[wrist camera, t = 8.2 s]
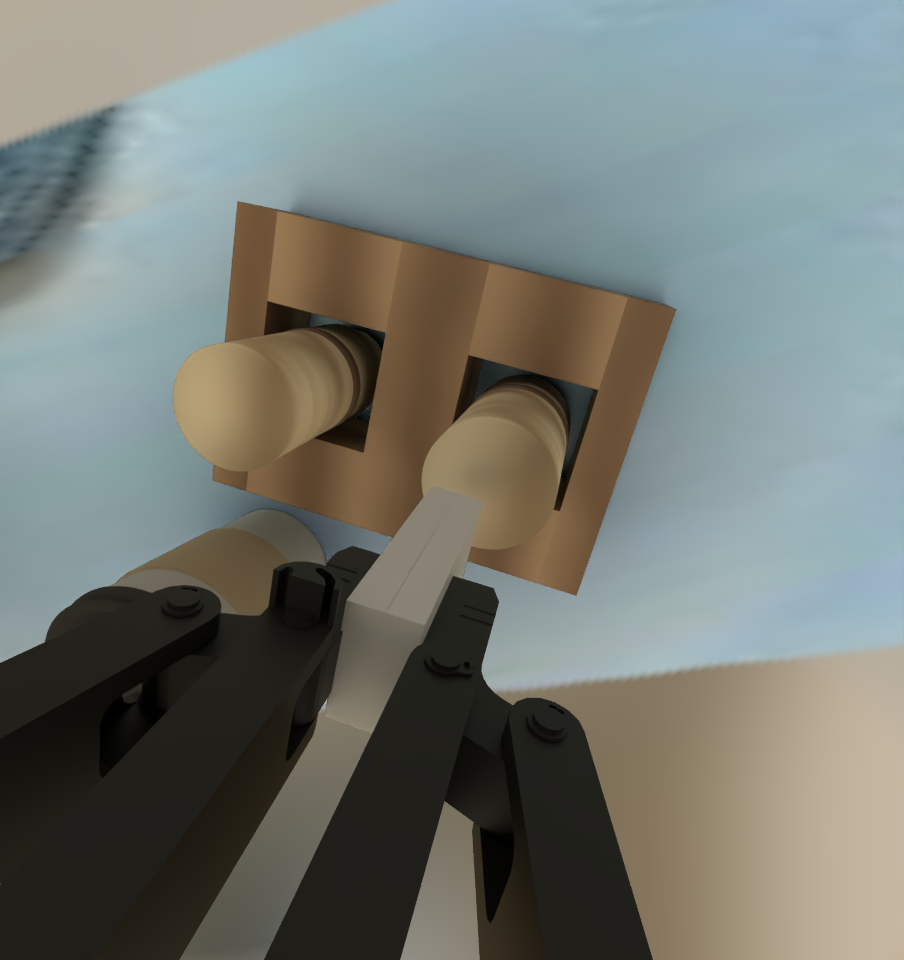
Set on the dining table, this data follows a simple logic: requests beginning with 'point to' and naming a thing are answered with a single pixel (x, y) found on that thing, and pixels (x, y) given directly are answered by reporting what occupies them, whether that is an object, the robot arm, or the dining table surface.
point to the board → (441, 372)
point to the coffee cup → (208, 569)
